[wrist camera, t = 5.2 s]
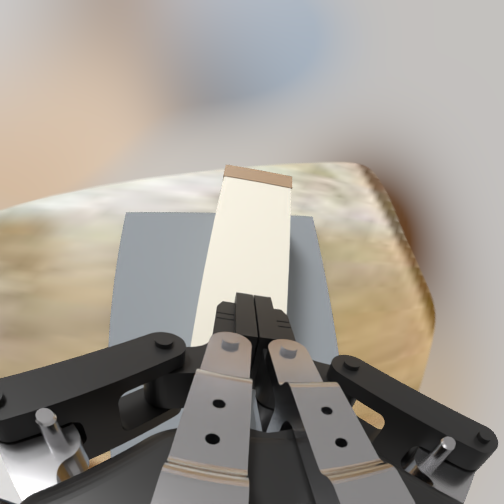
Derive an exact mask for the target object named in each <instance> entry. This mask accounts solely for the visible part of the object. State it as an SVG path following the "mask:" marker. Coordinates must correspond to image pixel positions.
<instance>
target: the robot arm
mask: <svg viewBox="0 0 504 504" xmlns="http://www.w3.org/2000/svg"><path fill="white" fill-rule="evenodd" d="M141 385H144V387H143V388H141V389H139V390H136V391H134V392H132V393H129V394H127V395H125V396H122V395H123V394H124V393H126V392H128V391H130V390H132V389H134V388H137V387H139V386H141ZM252 389H254V390H255V391H256V394H255V398H254V401H253V409H254V414H255V420H256V426H257V430H254V429H250V419H251V401H252ZM121 396H122V397H121ZM356 400H358V401H360V402H361V403H363V404H364V405H366V406H368V407H369V408H371V409H373V410H374V411H376V412H378V413H379V414H381V415H382V416H383V418H384V420H385V424H384V427H383V428H382V429H377V428H375V427H374V426H372V425H370V424H369V423H367V422H366V421H364V420H362V419H361V418H359V417H358V416H356V414H355V413H354V411H353V409H352V407H353V405H354V403H355V401H356ZM181 408H184V409H183V412H182V415H181V419H180V422H179V425H178V428H174V429H169V430H165V431H162V432H159V433H156V434H154V435H151V436H150V437H148V438H146V439H144V440H142V441H141V442H139V443H137V444H135V445H134V446H132V447H130V448H128V449H127V450H125V451H123V452H121V453H119V454H117V455H116V456H114V457H112V458H110V459H108V460H106V461H104V462H102V463H100V464H98V465H96V466H94V467H92V468H90V469H88V467H89V460H90V459H92V458H94V457H97V456H99V455H101V454H103V453H105V452H107V451H110V450H112V449H114V448H116V447H118V446H120V445H122V444H124V443H126V442H128V441H130V440H132V439H134V438H136V437H138V436H140V435H142V434H144V433H145V432H147V431H149V430H151V429H153V428H155V427H157V426H158V425H160V424H162V423H164V422H166V421H167V420H169V419H171V418H173V417H175V416H176V415H178V414H179V413H180V411H181ZM497 447H498V440H497V437H496V435H495V434H494V432H493V431H492V430H491V429H489V428H488V427H486V426H484V425H482V424H480V423H478V422H476V421H474V420H472V419H470V418H468V417H466V416H464V415H462V414H460V413H458V412H456V411H454V410H452V409H450V408H448V407H446V406H444V405H442V404H440V403H438V402H437V401H434V400H433V399H431V398H429V397H427V396H425V395H423V394H421V393H420V392H418V391H416V390H414V389H412V388H410V387H409V386H407V385H405V384H403V383H401V382H399V381H398V380H396V379H394V378H392V377H390V376H389V375H387V374H385V373H383V372H381V371H380V370H378V369H376V368H374V367H372V366H371V365H369V364H367V363H365V362H364V361H362V360H360V359H358V358H356V357H353V356H349V355H339V356H336V357H334V358H333V359H332V361H331V364H330V365H329V364H325V363H321V362H317V361H314V360H312V358H311V356H310V354H309V352H308V350H307V349H306V348H305V347H304V346H303V345H301V344H300V343H298V342H296V340H295V337H294V334H293V331H292V329H291V325H290V322H289V319H288V316H287V315H286V314H285V313H284V312H283V311H282V310H280V309H274V308H273V304H272V300H271V297H265V296H258V295H254V296H253V295H251V294H245V293H239V292H236V296H235V301H234V303H232V302H226V301H222V302H221V303H220V304H218V305H217V309H216V315H215V322H214V328H213V334H212V336H211V337H210V339H209V342H208V343H206V344H204V345H201V346H196V347H186V343H185V342H184V340H183V339H182V338H180V337H179V336H177V335H175V334H172V333H167V332H154V333H150V334H147V335H144V336H141V337H138V338H135V339H132V340H129V341H126V342H123V343H120V344H117V345H114V346H111V347H108V348H105V349H102V350H98V351H95V352H92V353H89V354H86V355H82V356H79V357H76V358H72V359H69V360H66V361H62V362H59V363H55V364H52V365H49V366H45V367H41V368H38V369H34V370H31V371H27V372H23V373H20V374H16V375H12V376H8V377H4V378H0V455H1V457H2V459H3V462H4V464H5V466H6V469H7V471H8V473H9V475H10V477H11V480H12V482H13V484H14V486H15V488H16V490H17V492H18V493H19V495H20V497H21V499H22V502H21V503H20V504H464V501H465V499H466V496H467V493H468V491H469V488H470V485H471V483H472V480H473V476H474V474H475V472H476V471H477V470H478V469H479V468H480V466H482V464H483V463H484V462H485V461H486V460H487V459H488V458H489V457H490V456H491V455H492V453H493V452H494V451H495V450H496V449H497Z"/></svg>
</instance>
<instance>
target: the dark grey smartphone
mask: <svg viewBox="0 0 504 504" xmlns="http://www.w3.org/2000/svg"><path fill="white" fill-rule="evenodd" d="M0 500H1V501H4V502H7V503H9V504H20V503H21V502H22V499H21V497H20V495H19V493H18V492H17V490H16V488H15V486H14V484H13V482H12V480H11V477H10V475H9V473H8V471H7V469H6V466H5V464H4V462H3V459H2V457H1V455H0Z"/></svg>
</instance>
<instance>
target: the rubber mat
mask: <svg viewBox="0 0 504 504" xmlns="http://www.w3.org/2000/svg"><path fill="white" fill-rule="evenodd" d="M215 215H216V213H186V212H126V215H125V220H124V225H123V230H122V236H121V241H120V247H119V253H118V260H117V266H116V273H115V281H114V289H113V298H112V307H111V318H110V331H109V347H111V346H114V345H117V344H120V343H123V342H126V341H129V340H132V339H135V338H138V337H141V336H144V335H147V334H150V333H154V332H167V333H172V334H175V335H177V336H179V337H180V338H182V339H183V340H184V342H185V343H186V347H191V341H192V335H193V329H194V323H195V317H196V311H197V306H198V300H199V295H200V289H201V284H202V279H203V273H204V268H205V263H206V258H207V253H208V248H209V243H210V238H211V233H212V229H213V224H214V219H215ZM287 316H288V319H289V322H290V325H291V329H292V331H293V334H294V337H295V340H296V342H298V343H300V344H301V345H303V346H304V347H305V348H306V349H307V350H308V352H309V354H310V356H311V358H312V360H314V361H317V362H321V363H325V364H329V365H330V364H331V361H332V359H333V358H334V357H336V356H339V353H338V347H337V340H336V334H335V328H334V322H333V316H332V310H331V304H330V299H329V293H328V288H327V283H326V278H325V273H324V268H323V263H322V258H321V253H320V248H319V244H318V239H317V235H316V230H315V226H314V221H313V217H309V216H291V217H290V250H289V275H288V296H287ZM143 387H144V385H141V386H139V387H137V388H134V389H132V390H130V391H128V392H126V393H124V394H123V395H122V396H125V395H127V394H129V393H132V392H134V391H136V390H139V389H141V388H143ZM255 394H256V391H255V390H252V401H251V419H250V429H254V430H257V426H256V420H255V414H254V409H253V401H254V398H255ZM122 396H121V397H122ZM183 409H184V408H181V411H180V413H179V414H178V415H176V416H175V417H173V418H171V419H169V420H167V421H166V422H164V423H162V424H160V425H158V426H157V427H155V428H153V429H151V430H149V431H147V432H145V433H144V434H142V435H140V436H138V437H136V438H134V439H132V440H130V441H128V442H126V443H124V444H122V445H120V446H118V447H116V448H114V449H112V450H110V451H111V458H112V457H114V456H116V455H117V454H119V453H121V452H123V451H125V450H127V449H128V448H130V447H132V446H134V445H135V444H137V443H139V442H141V441H142V440H144V439H146V438H148V437H150V436H151V435H154V434H156V433H159V432H162V431H165V430H169V429H174V428H178V425H179V422H180V419H181V415H182V412H183Z"/></svg>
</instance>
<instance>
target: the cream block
mask: <svg viewBox="0 0 504 504" xmlns="http://www.w3.org/2000/svg"><path fill="white" fill-rule="evenodd" d="M291 189H292V177H291V176H286V175H281V174H276V173H271V172H266V171H260V170H255V169H249V168H244V167H238V166H232V165H226V167H225V171H224V176H223V183H222V187H221V192H220V196H219V201H218V205H217V210H216V215H215V219H214V224H213V229H212V233H211V238H210V243H209V248H208V253H207V258H206V263H205V268H204V273H203V279H202V284H201V289H200V295H199V300H198V306H197V311H196V317H195V323H194V329H193V335H192V341H191V347H196V346H201V345H204V344H206V343H208V342H209V339H210V337H211V336H212V334H213V328H214V322H215V315H216V309H217V305H218V304H220V303H221V302H222V301H226V302H232V303H234V301H235V296H236V292H239V293H245V294H251V295H253V296H254V295H258V296H265V297H271V300H272V304H273V308H274V309H280V310H282V311H283V312H284V313H285V314H286V315H287V296H288V275H289V250H290V217H291ZM252 390H254V389H252Z"/></svg>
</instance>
